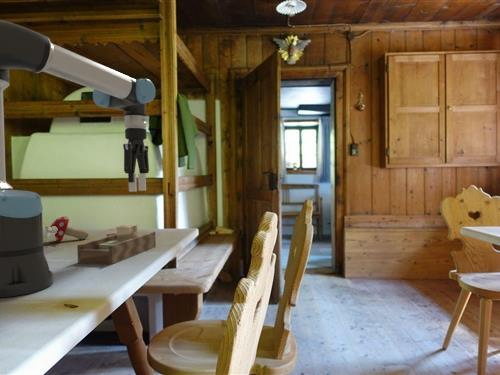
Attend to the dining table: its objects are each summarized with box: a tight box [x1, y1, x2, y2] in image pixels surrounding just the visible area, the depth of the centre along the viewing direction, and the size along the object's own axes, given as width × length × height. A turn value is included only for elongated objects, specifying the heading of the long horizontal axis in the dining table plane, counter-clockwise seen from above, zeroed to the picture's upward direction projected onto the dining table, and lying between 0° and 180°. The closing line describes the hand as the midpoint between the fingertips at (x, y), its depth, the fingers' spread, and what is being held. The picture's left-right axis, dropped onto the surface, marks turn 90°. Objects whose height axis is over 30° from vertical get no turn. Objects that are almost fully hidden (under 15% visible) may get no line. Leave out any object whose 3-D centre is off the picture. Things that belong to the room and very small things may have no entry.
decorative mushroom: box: [49, 215, 89, 243], centre depth 156 cm, size 11×11×15 cm
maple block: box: [115, 224, 139, 241], centre depth 130 cm, size 5×5×5 cm
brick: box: [106, 227, 117, 237], centre depth 155 cm, size 17×8×5 cm, turn 16°
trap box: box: [76, 231, 157, 265], centre depth 126 cm, size 27×12×6 cm, turn 166°
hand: (137, 190), depth 137 cm, fingers open, 6 cm apart
